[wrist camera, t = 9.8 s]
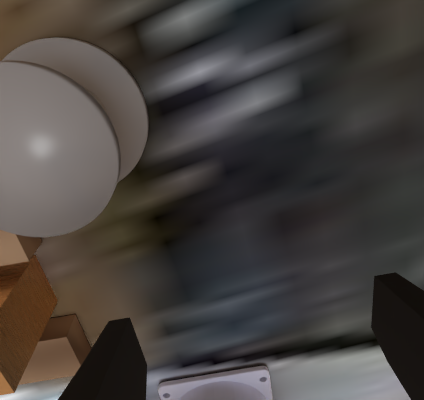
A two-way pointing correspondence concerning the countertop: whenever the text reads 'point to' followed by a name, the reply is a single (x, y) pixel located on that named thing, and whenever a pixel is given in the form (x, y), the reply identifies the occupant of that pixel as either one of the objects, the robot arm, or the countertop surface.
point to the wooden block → (21, 318)
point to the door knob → (65, 134)
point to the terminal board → (55, 329)
